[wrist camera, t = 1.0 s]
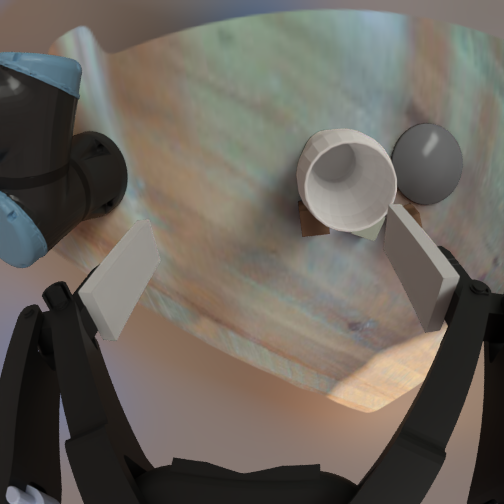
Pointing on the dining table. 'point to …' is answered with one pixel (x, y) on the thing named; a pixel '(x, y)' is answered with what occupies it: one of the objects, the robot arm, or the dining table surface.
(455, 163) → the coaster
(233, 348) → the dining table surface
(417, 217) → the block
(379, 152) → the cup
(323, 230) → the block
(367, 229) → the block
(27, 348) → the robot arm
